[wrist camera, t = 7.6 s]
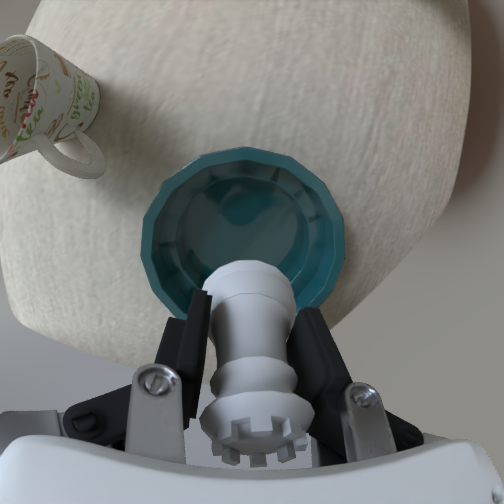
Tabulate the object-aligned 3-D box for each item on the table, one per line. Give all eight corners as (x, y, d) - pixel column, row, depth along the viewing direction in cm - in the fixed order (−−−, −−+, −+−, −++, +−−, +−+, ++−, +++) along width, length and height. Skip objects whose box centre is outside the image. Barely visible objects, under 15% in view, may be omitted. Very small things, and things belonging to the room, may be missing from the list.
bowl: (174, 134, 19) (156, 131, 14) (342, 172, 21) (369, 181, 16) (154, 289, 24) (138, 321, 19) (297, 313, 25) (308, 347, 21)
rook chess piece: (303, 264, 13) (374, 403, 5) (279, 338, 14) (308, 474, 7) (207, 247, 12) (173, 396, 5) (196, 326, 14) (174, 469, 6)
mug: (79, 47, 14) (11, 18, 5) (164, 126, 18) (108, 114, 9) (28, 119, 16) (-47, 124, 7) (101, 201, 20) (29, 243, 11)
